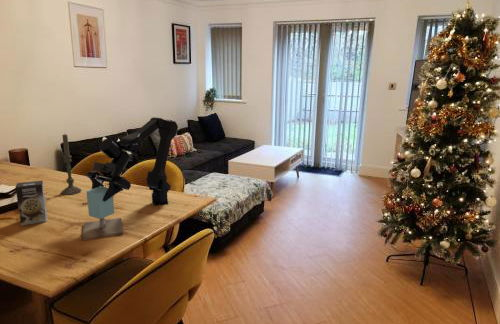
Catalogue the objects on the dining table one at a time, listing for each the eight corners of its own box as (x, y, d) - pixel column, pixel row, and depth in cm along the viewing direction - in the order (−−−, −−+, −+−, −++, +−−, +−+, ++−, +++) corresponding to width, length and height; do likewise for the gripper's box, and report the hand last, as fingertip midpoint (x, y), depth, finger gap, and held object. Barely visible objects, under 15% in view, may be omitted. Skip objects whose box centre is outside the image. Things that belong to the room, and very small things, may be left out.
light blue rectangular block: (102, 210, 139) (100, 186, 136) (114, 213, 136) (112, 188, 134) (89, 215, 133) (86, 191, 131) (100, 219, 131) (98, 193, 128)
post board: (121, 220, 145) (120, 209, 144) (123, 234, 133) (122, 222, 131) (84, 224, 140) (83, 213, 139) (82, 240, 128) (80, 228, 126)
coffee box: (20, 226, 138) (14, 187, 134) (22, 220, 144) (16, 182, 140) (47, 221, 142) (41, 184, 138) (47, 216, 148) (42, 179, 144)
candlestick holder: (68, 196, 171) (60, 135, 164) (57, 192, 176) (50, 133, 169) (85, 191, 179) (79, 133, 171) (74, 187, 184) (68, 131, 176)
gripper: (87, 150, 136) (65, 185, 130) (122, 156, 128) (100, 194, 122) (105, 165, 145) (85, 198, 139) (139, 171, 137) (120, 207, 130)
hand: (97, 199), depth 132 cm, fingers closed on light blue rectangular block, 6 cm apart
